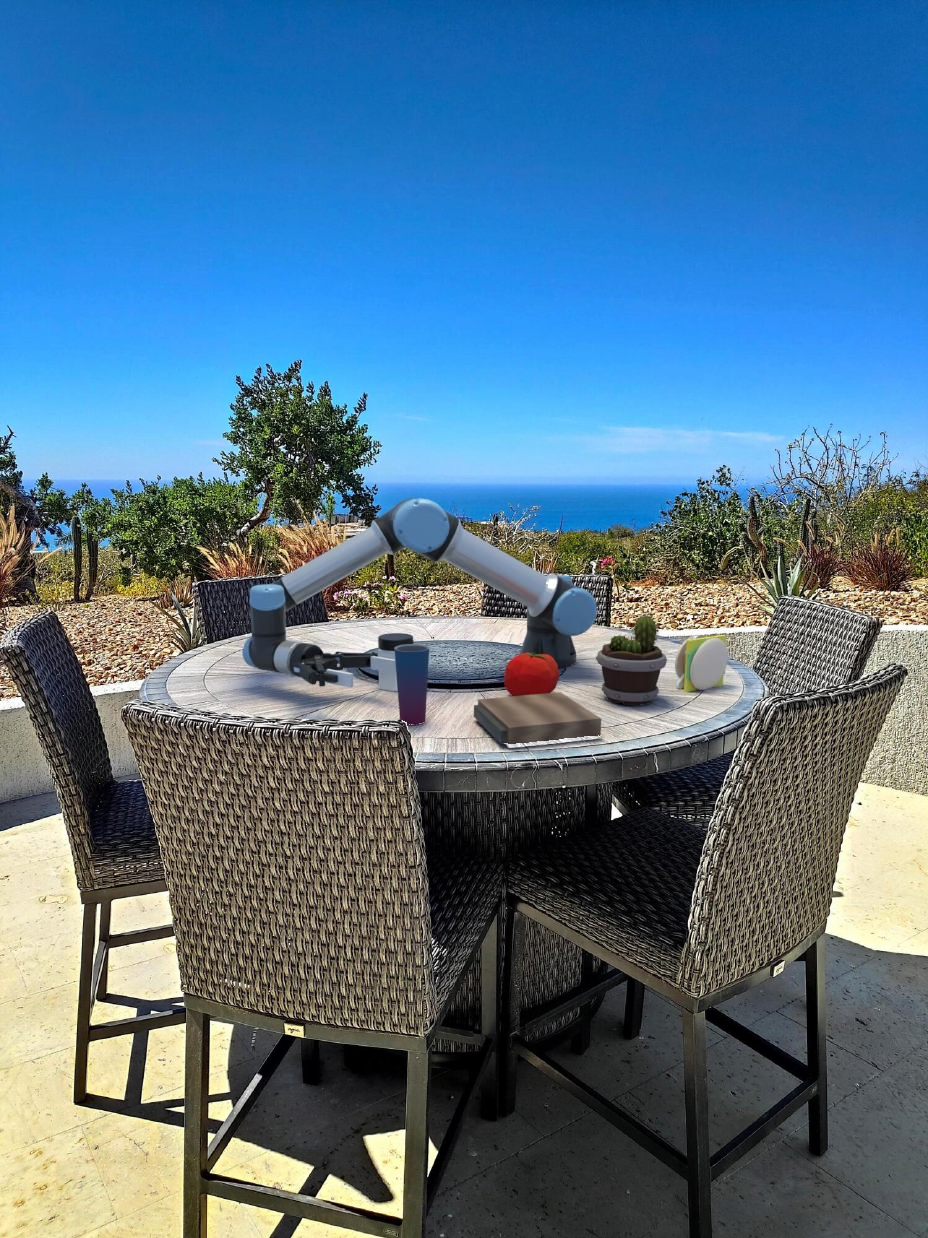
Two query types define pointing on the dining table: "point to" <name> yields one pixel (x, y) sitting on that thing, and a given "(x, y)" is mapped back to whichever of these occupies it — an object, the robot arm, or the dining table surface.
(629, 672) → the flowerpot
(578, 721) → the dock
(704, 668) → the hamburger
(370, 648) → the dining table surface
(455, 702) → the dining table surface
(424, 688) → the cup
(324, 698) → the dining table surface
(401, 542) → the robot arm
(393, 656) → the jar
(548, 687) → the tomato
